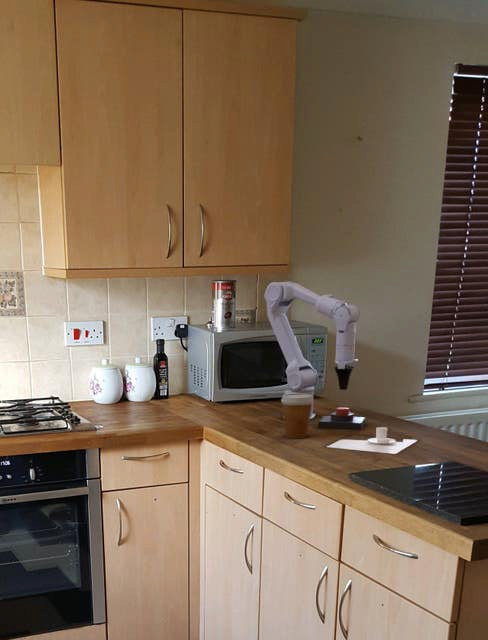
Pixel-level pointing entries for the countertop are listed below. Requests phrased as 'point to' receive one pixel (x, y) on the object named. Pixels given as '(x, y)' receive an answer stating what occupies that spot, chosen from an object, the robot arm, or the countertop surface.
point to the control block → (342, 422)
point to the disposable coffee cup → (296, 414)
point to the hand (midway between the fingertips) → (343, 389)
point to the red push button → (342, 411)
